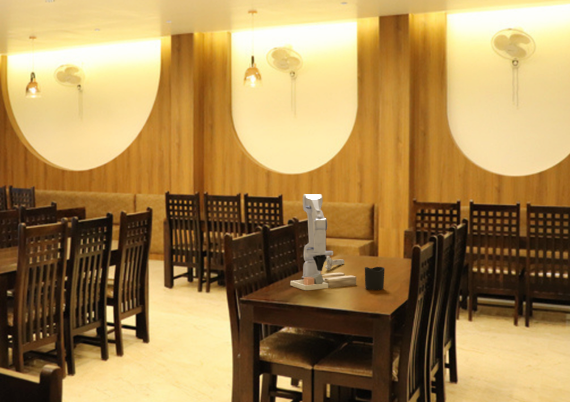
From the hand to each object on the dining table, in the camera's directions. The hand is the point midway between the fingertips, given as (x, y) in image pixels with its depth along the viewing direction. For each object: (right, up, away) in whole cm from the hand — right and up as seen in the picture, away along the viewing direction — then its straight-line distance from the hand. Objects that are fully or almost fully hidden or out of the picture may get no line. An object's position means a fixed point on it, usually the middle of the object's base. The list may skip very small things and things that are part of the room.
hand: (319, 270), depth 314 cm
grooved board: (+8, -7, +5) cm, 12 cm away
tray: (-5, -8, -3) cm, 10 cm away
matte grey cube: (-1, -6, -1) cm, 6 cm away
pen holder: (+26, -8, -7) cm, 28 cm away
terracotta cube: (-4, -5, -2) cm, 7 cm away
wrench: (+12, -5, +55) cm, 57 cm away
